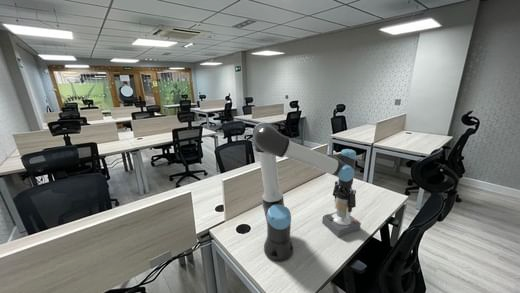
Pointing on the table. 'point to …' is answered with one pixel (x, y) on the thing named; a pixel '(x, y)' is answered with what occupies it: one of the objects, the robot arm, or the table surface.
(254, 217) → the table surface
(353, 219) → the grey dome button box
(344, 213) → the coffee cup
